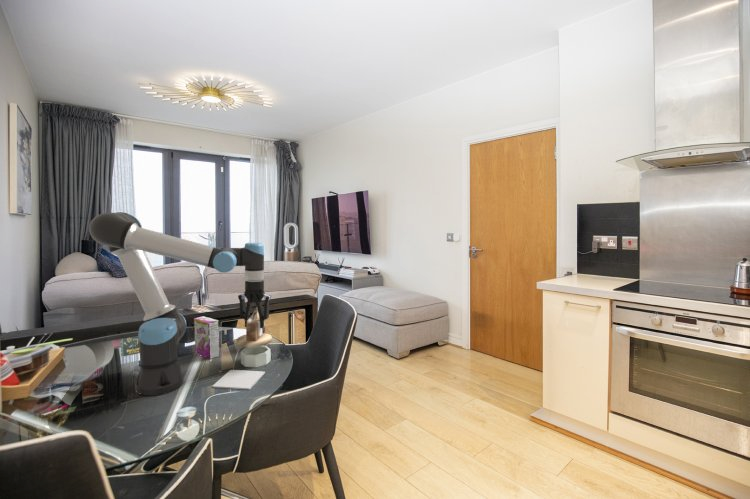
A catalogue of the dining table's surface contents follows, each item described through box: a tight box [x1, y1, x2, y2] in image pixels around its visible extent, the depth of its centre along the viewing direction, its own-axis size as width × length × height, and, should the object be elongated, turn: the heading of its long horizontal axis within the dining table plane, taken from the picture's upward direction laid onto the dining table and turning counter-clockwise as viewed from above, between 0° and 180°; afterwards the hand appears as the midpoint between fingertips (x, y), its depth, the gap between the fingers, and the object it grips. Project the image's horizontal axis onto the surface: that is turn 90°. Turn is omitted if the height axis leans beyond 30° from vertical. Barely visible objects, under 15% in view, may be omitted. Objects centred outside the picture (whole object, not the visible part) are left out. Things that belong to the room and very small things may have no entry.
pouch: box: [249, 308, 266, 334], centre depth 173 cm, size 25×8×19 cm, turn 13°
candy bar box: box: [193, 316, 220, 360], centre depth 159 cm, size 11×5×16 cm, turn 58°
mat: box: [211, 369, 266, 390], centre depth 137 cm, size 14×14×1 cm
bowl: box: [240, 345, 272, 368], centre depth 154 cm, size 11×11×5 cm
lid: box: [236, 320, 273, 348], centre depth 153 cm, size 14×14×8 cm
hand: (254, 334), depth 153 cm, fingers closed on lid, 4 cm apart
